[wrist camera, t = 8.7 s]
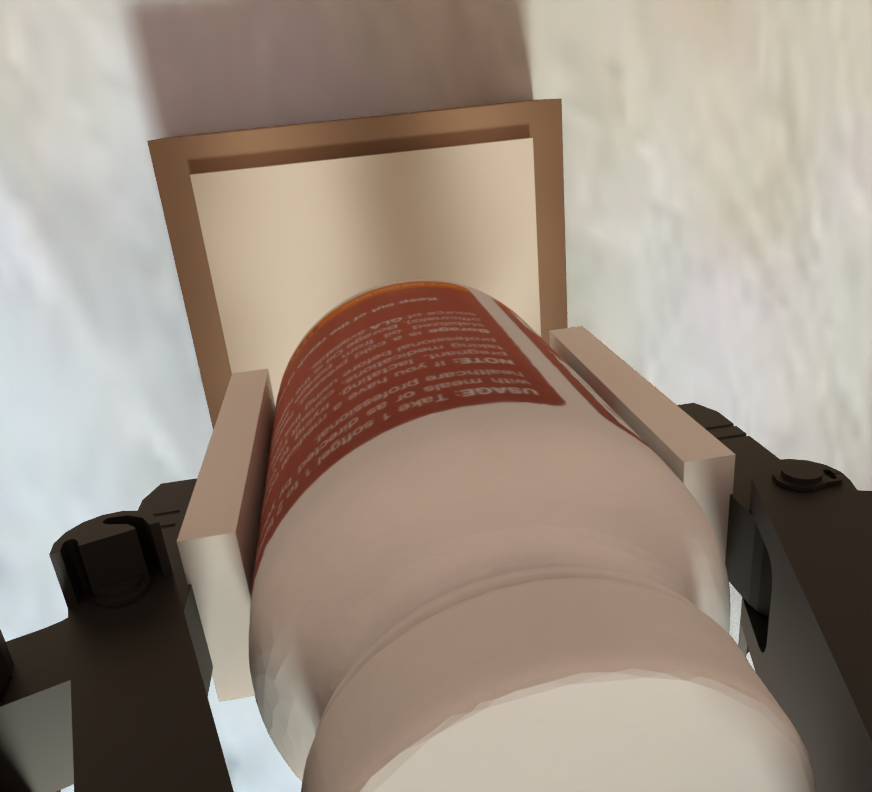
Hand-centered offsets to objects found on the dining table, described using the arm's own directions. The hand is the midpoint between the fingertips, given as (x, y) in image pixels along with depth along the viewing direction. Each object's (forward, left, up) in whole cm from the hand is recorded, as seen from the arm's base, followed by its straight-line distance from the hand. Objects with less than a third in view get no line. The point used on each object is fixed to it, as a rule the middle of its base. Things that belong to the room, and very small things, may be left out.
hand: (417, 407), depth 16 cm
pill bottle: (0, 0, -1) cm, 1 cm away
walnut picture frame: (0, 0, -11) cm, 11 cm away
